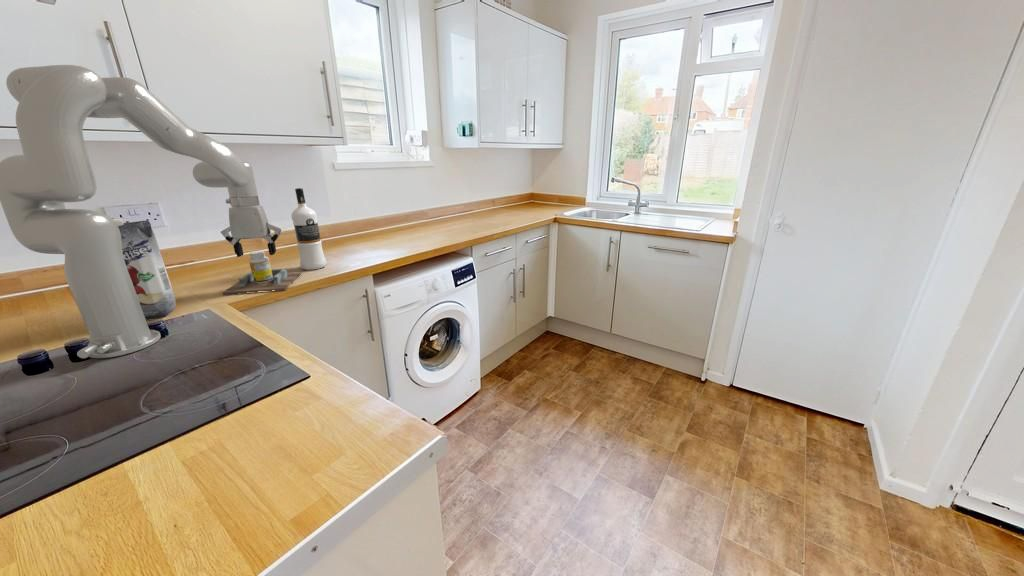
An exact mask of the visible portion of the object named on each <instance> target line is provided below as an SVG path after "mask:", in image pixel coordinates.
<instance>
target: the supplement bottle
mask: <svg viewBox="0 0 1024 576" xmlns="http://www.w3.org/2000/svg"><path fill="white" fill-rule="evenodd" d="M249 255H250V258H249V260H248V262H249V266H250V270H251V271H252V274H253V278H254V282H255V283H258V284H263V283H268V282H271V281H272V280H273V275H272V271H271V270H272V267H271V263H270V258H269V257H268V256H266V254H265V252H264V251H263V250H256V251H251V252H250V254H249ZM251 271H250V272H251Z"/></svg>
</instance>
